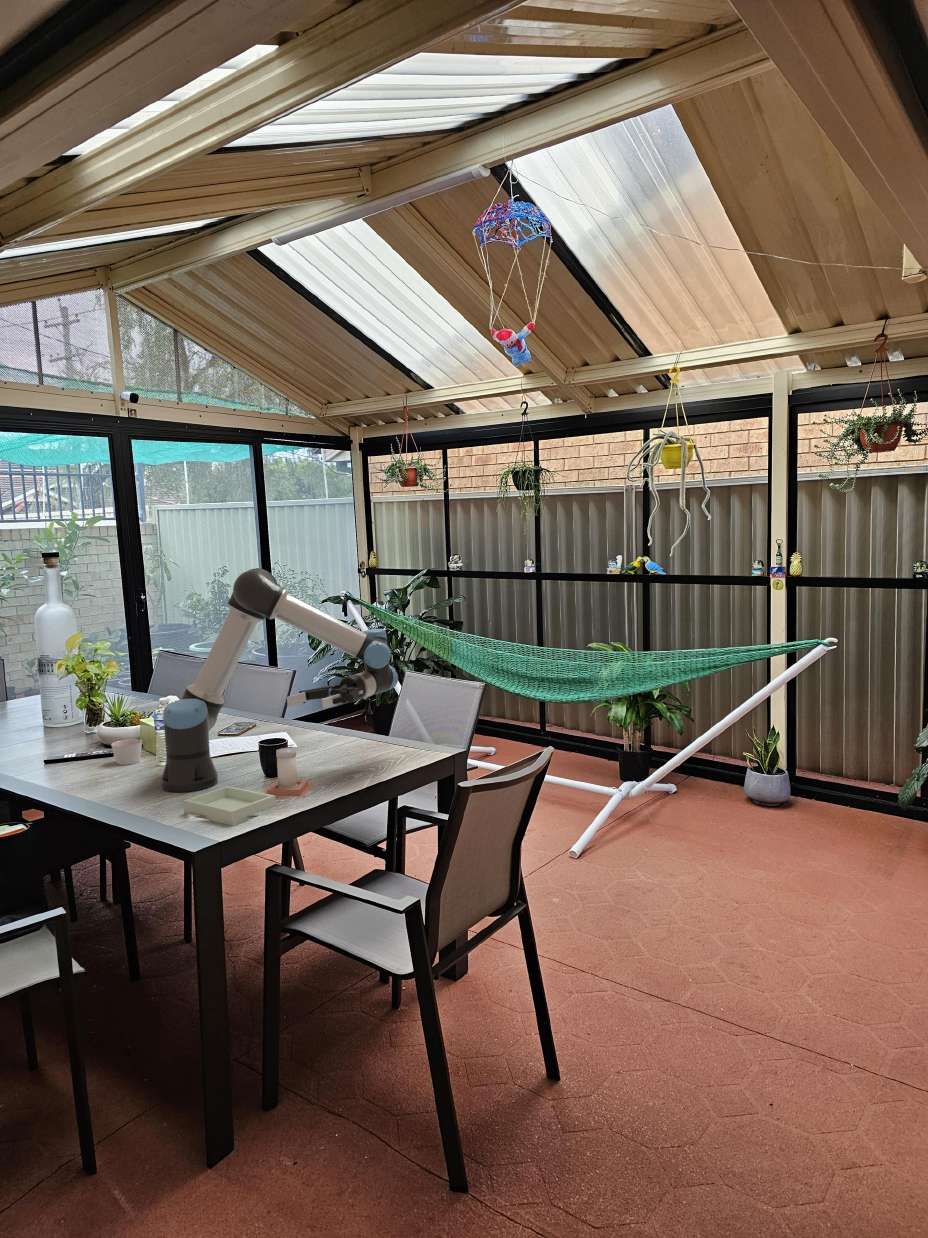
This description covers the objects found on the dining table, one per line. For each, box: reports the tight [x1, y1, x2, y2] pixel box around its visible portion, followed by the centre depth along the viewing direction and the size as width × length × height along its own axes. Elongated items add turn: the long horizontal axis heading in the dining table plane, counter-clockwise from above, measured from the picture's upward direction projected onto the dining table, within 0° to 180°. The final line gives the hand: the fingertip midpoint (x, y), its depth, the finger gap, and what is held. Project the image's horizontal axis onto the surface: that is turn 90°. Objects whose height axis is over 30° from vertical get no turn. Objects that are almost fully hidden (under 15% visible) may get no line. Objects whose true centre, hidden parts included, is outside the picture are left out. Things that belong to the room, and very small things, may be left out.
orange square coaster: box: [263, 779, 316, 799], centre depth 225 cm, size 12×12×2 cm
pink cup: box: [110, 738, 143, 766], centre depth 263 cm, size 9×9×6 cm
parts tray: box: [183, 785, 277, 826], centre depth 211 cm, size 18×14×4 cm
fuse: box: [275, 747, 298, 788], centre depth 224 cm, size 5×5×11 cm
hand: (305, 702), depth 230 cm, fingers open, 13 cm apart
